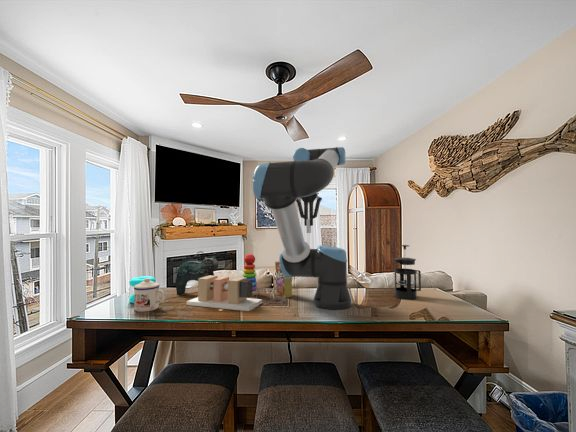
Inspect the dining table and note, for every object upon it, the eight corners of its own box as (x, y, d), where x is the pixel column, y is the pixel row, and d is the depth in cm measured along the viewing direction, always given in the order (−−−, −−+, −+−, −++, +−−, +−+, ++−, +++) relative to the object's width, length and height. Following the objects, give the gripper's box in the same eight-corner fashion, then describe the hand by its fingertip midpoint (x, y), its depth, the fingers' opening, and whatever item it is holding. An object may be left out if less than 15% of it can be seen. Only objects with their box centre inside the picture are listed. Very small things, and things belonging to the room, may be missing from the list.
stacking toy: (254, 296, 132) (254, 255, 133) (237, 296, 134) (237, 254, 134) (259, 292, 140) (259, 253, 140) (243, 292, 141) (243, 253, 142)
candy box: (274, 294, 137) (274, 261, 138) (283, 292, 139) (282, 260, 140) (283, 298, 129) (283, 263, 130) (292, 297, 131) (292, 262, 132)
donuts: (139, 275, 132) (160, 275, 130) (139, 297, 131) (160, 298, 130) (123, 279, 122) (145, 280, 120) (123, 303, 121) (145, 304, 120)
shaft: (252, 294, 119) (252, 279, 119) (246, 297, 114) (246, 282, 115) (207, 291, 126) (207, 277, 126) (200, 293, 121) (200, 279, 122)
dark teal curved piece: (219, 293, 140) (219, 250, 140) (213, 296, 133) (213, 252, 134) (180, 291, 143) (180, 250, 143) (172, 295, 136) (173, 251, 137)
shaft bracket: (262, 303, 121) (261, 277, 122) (248, 311, 110) (248, 283, 110) (204, 297, 131) (204, 274, 131) (186, 304, 119) (186, 278, 120)
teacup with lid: (128, 311, 110) (128, 280, 111) (143, 305, 119) (143, 276, 120) (157, 312, 109) (157, 281, 109) (170, 306, 118) (171, 276, 118)
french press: (396, 299, 126) (395, 245, 126) (390, 294, 135) (389, 244, 136) (424, 299, 125) (423, 245, 126) (416, 294, 134) (415, 244, 135)
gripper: (323, 183, 141) (324, 232, 141) (297, 184, 146) (298, 232, 145) (320, 181, 134) (320, 233, 134) (293, 183, 139) (293, 233, 138)
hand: (308, 232), depth 139 cm, fingers closed
